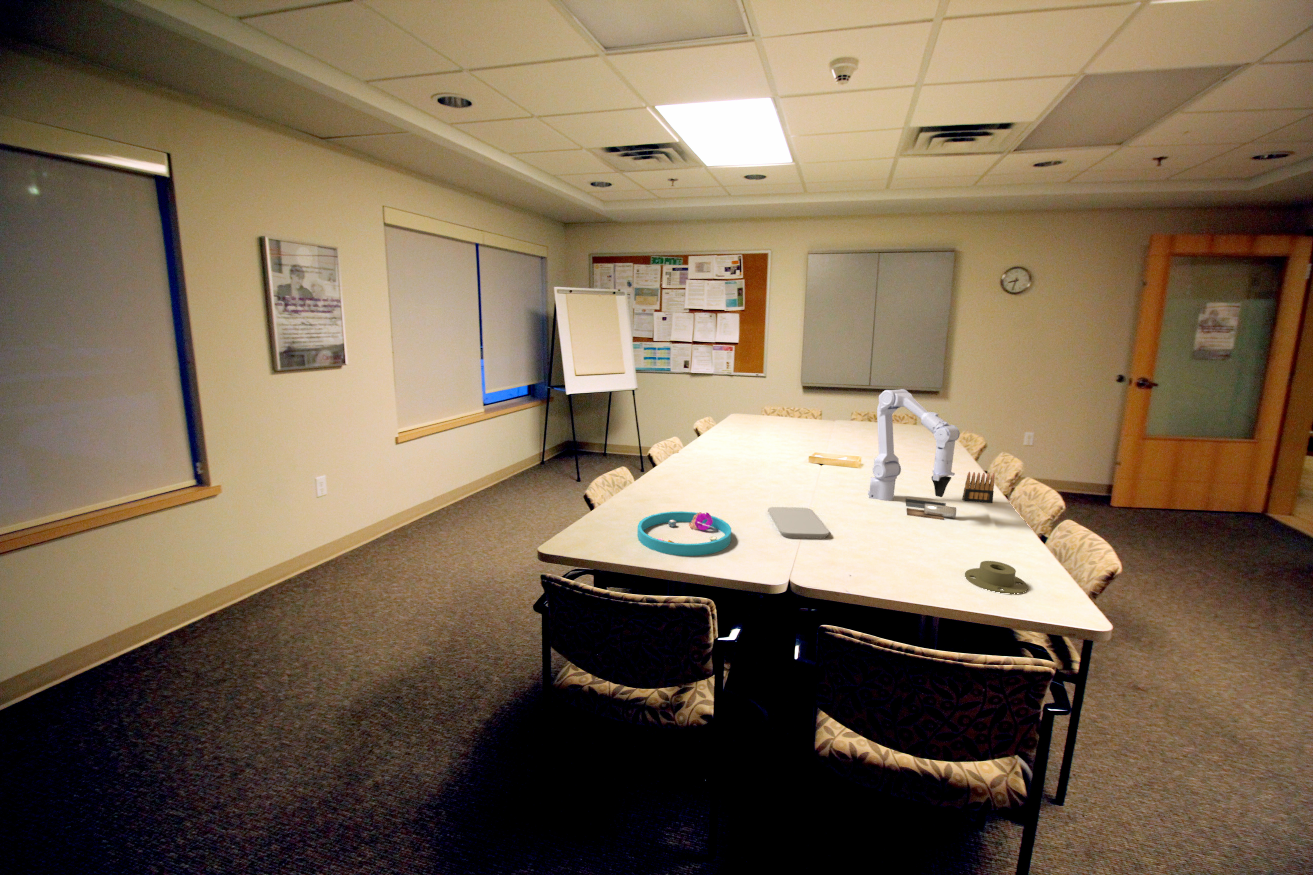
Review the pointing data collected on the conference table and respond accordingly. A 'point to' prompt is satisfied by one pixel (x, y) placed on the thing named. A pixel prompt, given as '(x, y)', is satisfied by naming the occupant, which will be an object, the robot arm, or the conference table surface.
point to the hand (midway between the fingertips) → (939, 496)
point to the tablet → (798, 522)
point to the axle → (940, 511)
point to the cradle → (921, 503)
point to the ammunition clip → (979, 489)
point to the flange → (996, 578)
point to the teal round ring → (698, 522)
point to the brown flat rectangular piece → (921, 514)
